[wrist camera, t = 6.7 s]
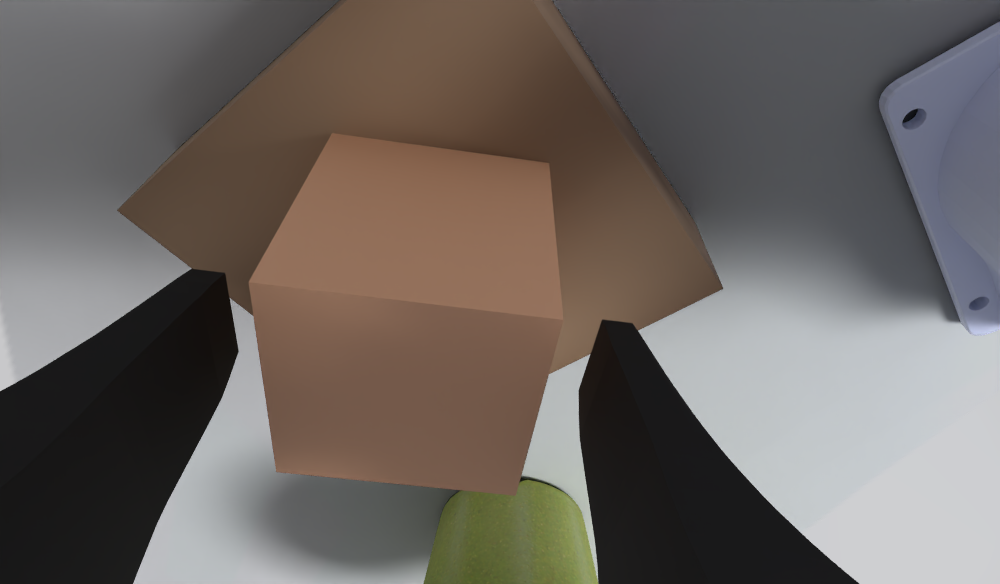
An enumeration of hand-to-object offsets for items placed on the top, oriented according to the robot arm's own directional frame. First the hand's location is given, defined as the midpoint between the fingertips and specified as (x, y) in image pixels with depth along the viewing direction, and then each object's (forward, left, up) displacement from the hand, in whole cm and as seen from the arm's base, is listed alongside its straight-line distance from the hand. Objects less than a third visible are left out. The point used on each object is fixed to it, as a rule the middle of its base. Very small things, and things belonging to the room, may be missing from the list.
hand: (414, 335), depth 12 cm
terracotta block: (0, 0, -3) cm, 3 cm away
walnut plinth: (0, 0, -6) cm, 6 cm away
